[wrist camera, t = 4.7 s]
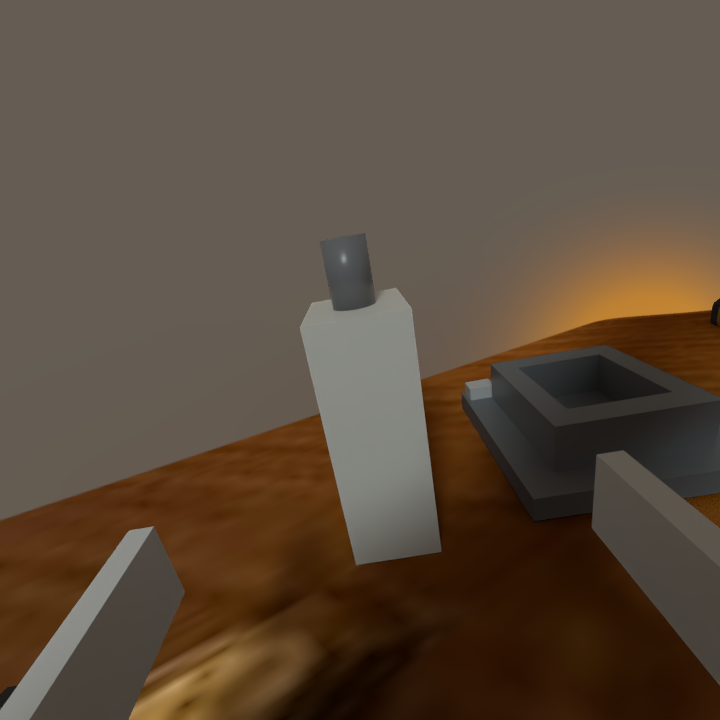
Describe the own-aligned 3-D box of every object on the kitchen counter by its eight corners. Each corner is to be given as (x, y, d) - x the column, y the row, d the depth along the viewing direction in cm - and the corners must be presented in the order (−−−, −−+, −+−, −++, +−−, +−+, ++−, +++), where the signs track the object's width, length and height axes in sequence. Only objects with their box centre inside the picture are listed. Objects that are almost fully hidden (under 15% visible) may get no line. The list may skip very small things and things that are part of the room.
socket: (612, 383, 31) (616, 333, 30) (780, 483, 19) (801, 408, 18) (462, 407, 32) (458, 360, 30) (533, 521, 20) (533, 451, 18)
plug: (422, 486, 23) (387, 227, 18) (441, 551, 19) (401, 228, 13) (354, 497, 24) (298, 244, 18) (355, 565, 19) (281, 250, 13)
